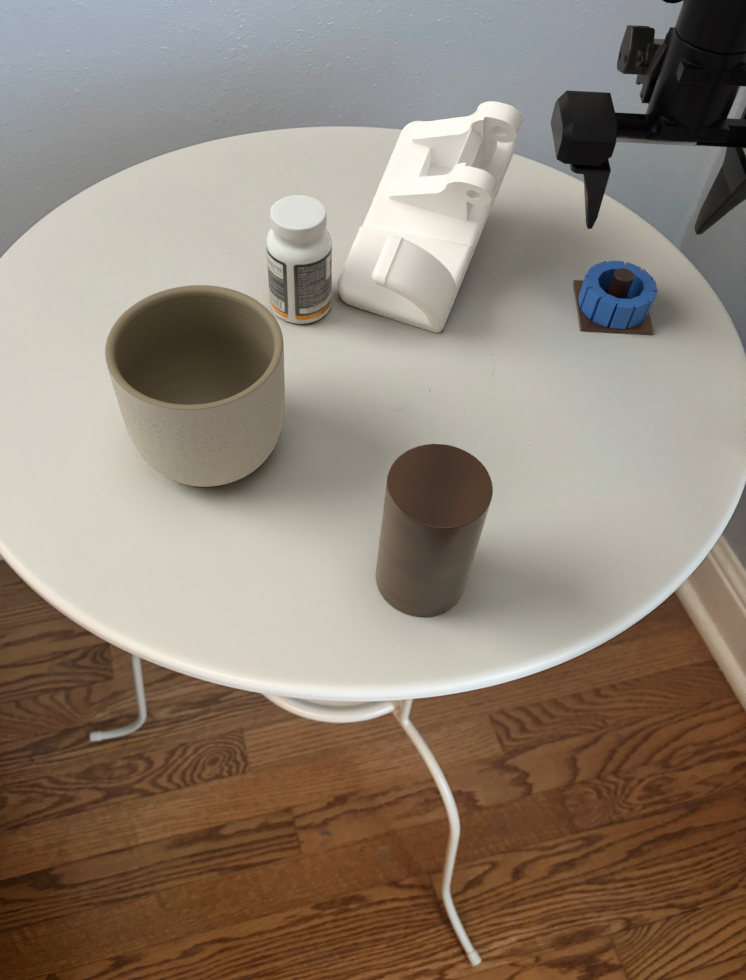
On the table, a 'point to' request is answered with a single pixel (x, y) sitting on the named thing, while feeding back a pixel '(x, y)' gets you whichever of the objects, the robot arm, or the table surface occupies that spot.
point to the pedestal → (431, 527)
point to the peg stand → (619, 290)
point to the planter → (199, 382)
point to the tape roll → (609, 307)
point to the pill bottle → (299, 259)
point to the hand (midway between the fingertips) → (642, 228)
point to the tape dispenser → (429, 216)
